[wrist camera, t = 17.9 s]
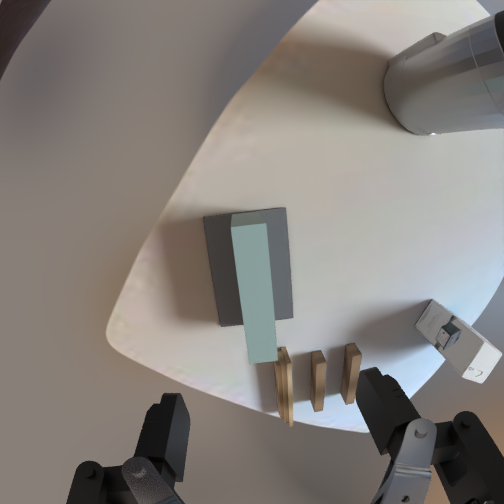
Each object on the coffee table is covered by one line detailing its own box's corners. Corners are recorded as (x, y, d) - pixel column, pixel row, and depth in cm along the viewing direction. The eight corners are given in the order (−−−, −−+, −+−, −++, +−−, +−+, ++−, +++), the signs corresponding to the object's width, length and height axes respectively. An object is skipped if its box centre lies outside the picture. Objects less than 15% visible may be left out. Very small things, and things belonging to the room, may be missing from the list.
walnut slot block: (311, 352, 31) (316, 364, 29) (354, 343, 31) (361, 354, 29) (310, 399, 33) (314, 412, 31) (348, 391, 34) (353, 402, 31)
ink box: (457, 316, 32) (504, 353, 21) (440, 342, 33) (482, 384, 22) (431, 297, 31) (486, 339, 19) (411, 328, 32) (460, 377, 20)
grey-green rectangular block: (230, 227, 19) (249, 364, 22) (266, 223, 19) (278, 360, 22) (232, 214, 26) (246, 324, 29) (258, 211, 26) (268, 321, 29)
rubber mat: (203, 217, 26) (203, 217, 26) (285, 207, 26) (285, 207, 26) (221, 325, 29) (220, 327, 29) (292, 316, 30) (293, 317, 29)
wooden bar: (272, 347, 31) (277, 365, 27) (284, 345, 31) (291, 363, 27) (277, 411, 34) (282, 428, 31) (288, 409, 34) (293, 426, 31)
